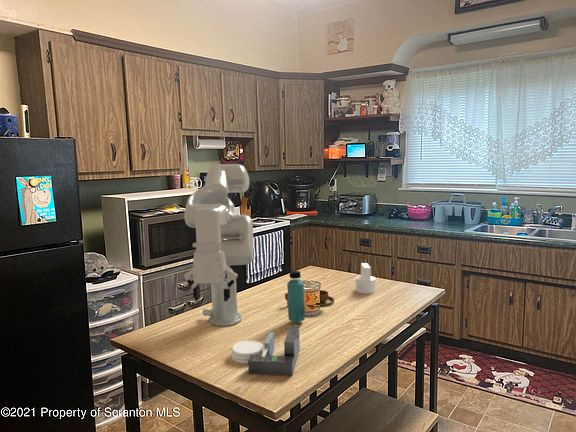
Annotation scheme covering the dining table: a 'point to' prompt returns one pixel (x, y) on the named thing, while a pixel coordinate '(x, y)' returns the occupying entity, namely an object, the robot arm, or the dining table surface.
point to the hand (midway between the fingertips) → (212, 299)
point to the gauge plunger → (269, 345)
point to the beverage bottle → (296, 298)
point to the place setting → (323, 298)
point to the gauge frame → (278, 358)
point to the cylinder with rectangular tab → (365, 280)
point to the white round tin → (246, 350)
